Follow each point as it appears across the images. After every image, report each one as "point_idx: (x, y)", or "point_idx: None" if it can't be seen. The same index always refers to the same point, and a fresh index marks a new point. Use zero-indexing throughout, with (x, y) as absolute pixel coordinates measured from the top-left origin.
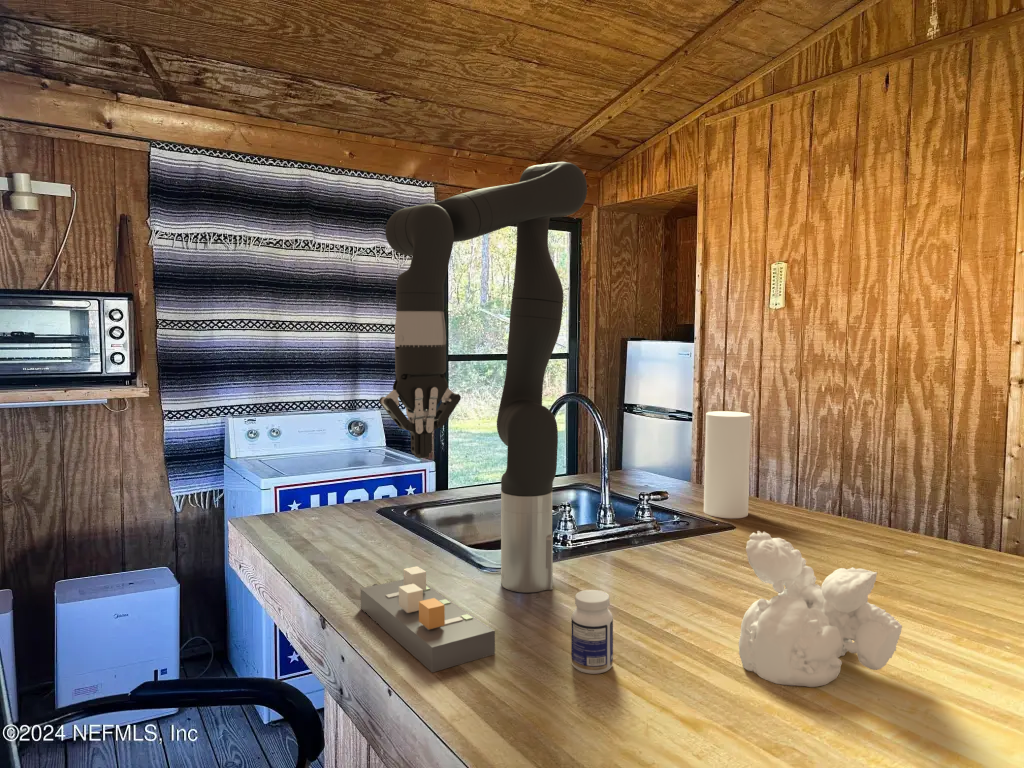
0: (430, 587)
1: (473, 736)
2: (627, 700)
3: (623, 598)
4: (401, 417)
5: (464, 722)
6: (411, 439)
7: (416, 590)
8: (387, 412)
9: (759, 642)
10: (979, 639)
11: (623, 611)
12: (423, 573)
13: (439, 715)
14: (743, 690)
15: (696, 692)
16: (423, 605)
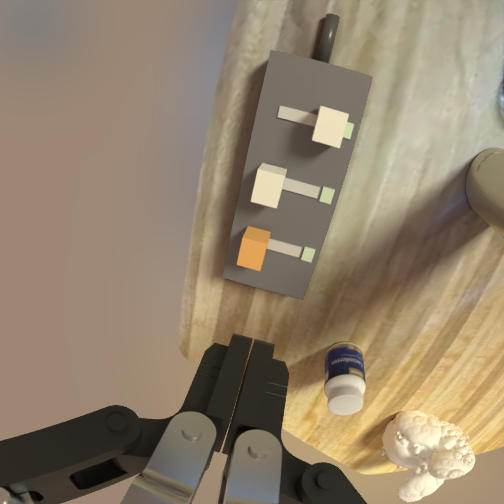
0: (357, 132)
1: (194, 343)
2: (309, 389)
3: (498, 298)
4: (77, 477)
5: (200, 330)
6: (189, 391)
7: (267, 203)
8: (9, 440)
9: (392, 439)
10: (483, 447)
11: (468, 316)
12: (334, 146)
13: (190, 313)
14: (367, 420)
15: None
16: (240, 249)
